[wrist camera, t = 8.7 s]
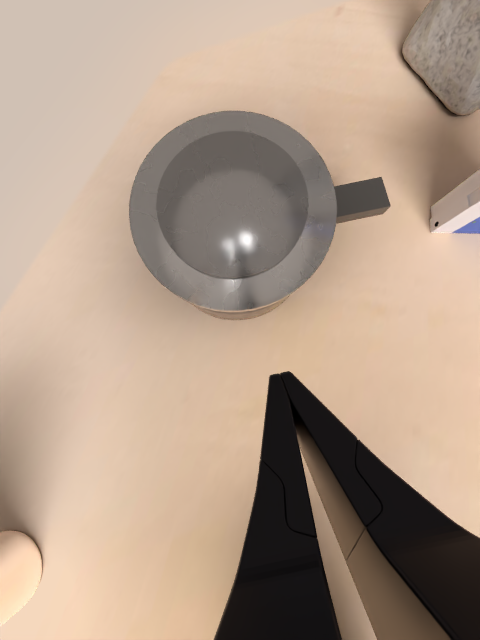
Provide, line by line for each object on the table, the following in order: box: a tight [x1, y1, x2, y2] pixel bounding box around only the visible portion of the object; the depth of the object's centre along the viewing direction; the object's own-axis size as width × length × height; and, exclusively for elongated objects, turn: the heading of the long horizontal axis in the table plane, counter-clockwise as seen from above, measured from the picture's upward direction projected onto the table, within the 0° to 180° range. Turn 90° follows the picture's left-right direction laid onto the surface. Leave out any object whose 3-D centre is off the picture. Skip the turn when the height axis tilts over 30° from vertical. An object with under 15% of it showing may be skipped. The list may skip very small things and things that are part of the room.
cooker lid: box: [129, 111, 337, 312], centre depth 16 cm, size 14×14×2 cm
